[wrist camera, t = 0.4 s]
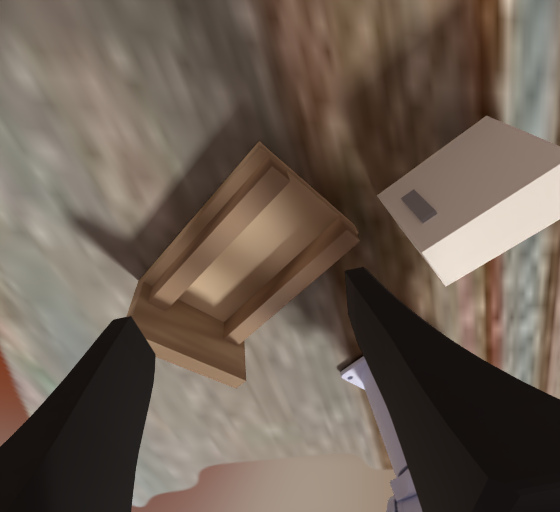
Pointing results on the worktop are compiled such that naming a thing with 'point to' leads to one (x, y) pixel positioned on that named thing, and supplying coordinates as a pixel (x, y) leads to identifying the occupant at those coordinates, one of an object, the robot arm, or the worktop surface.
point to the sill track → (238, 266)
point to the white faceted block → (477, 197)
